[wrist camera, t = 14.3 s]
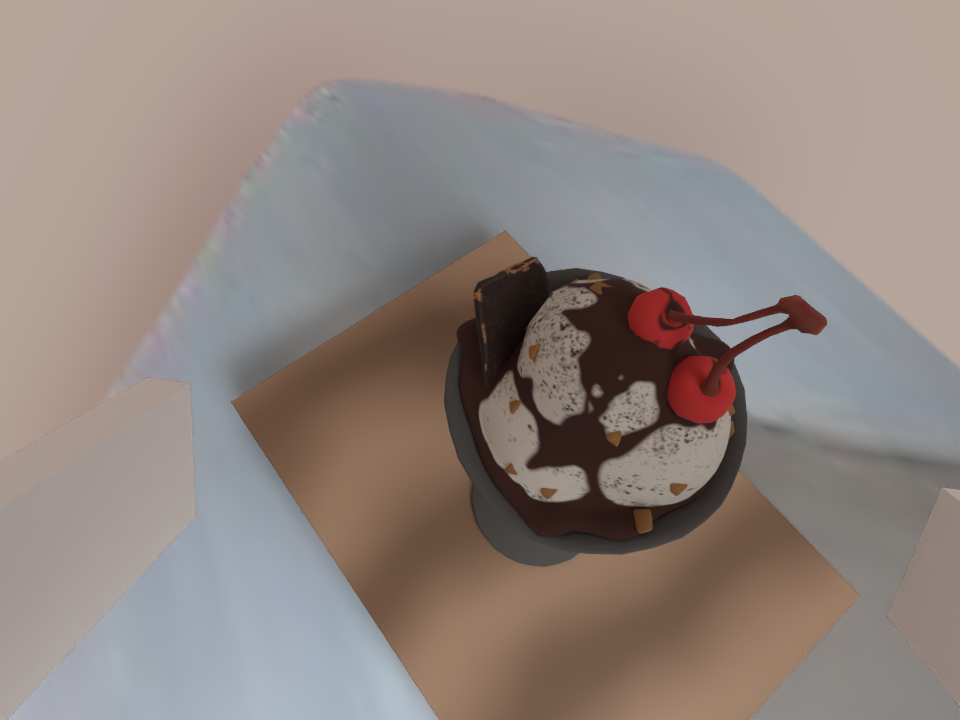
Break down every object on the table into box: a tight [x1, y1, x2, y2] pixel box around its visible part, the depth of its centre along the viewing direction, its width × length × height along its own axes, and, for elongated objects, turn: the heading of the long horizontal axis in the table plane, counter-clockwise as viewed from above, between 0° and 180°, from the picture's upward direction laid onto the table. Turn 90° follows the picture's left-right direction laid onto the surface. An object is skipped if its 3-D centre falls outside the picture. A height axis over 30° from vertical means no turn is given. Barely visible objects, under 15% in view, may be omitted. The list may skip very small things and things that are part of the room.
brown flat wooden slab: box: [231, 231, 860, 720], centre depth 23 cm, size 20×14×2 cm
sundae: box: [444, 257, 827, 567], centre depth 15 cm, size 7×7×15 cm
